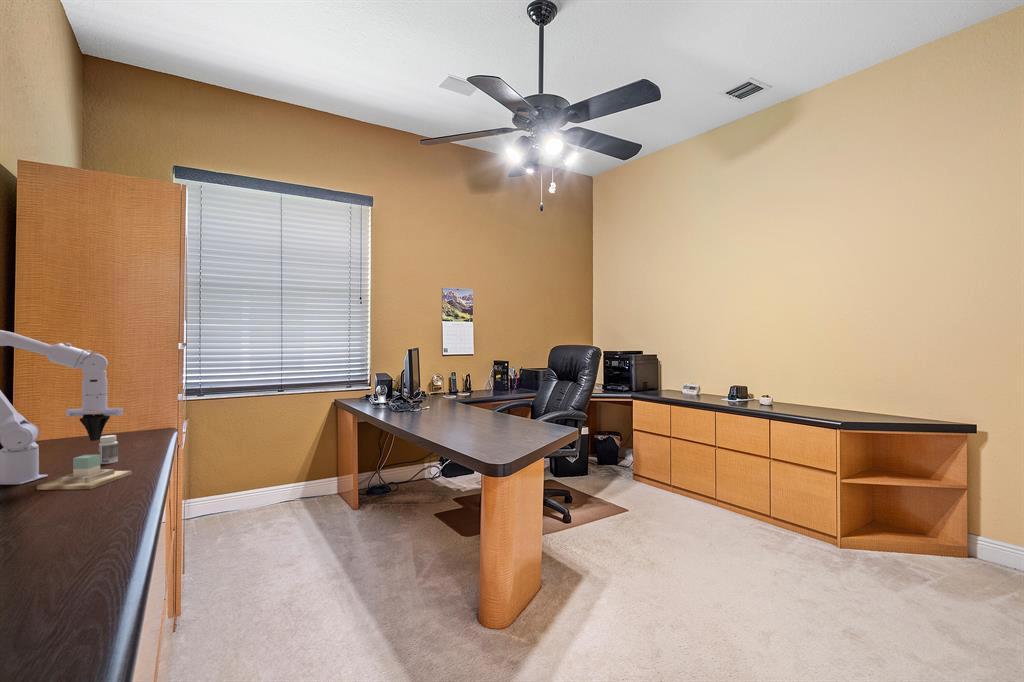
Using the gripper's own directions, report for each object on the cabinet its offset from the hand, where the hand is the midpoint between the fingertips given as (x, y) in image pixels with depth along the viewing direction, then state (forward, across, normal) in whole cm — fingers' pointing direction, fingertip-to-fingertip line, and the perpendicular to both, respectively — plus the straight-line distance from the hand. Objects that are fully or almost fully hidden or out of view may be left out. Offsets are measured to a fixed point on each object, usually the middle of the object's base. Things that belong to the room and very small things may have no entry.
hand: (95, 440), depth 144 cm
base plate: (+9, +5, -10) cm, 15 cm away
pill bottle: (+10, -4, +11) cm, 15 cm away
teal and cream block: (+8, +5, -10) cm, 14 cm away
